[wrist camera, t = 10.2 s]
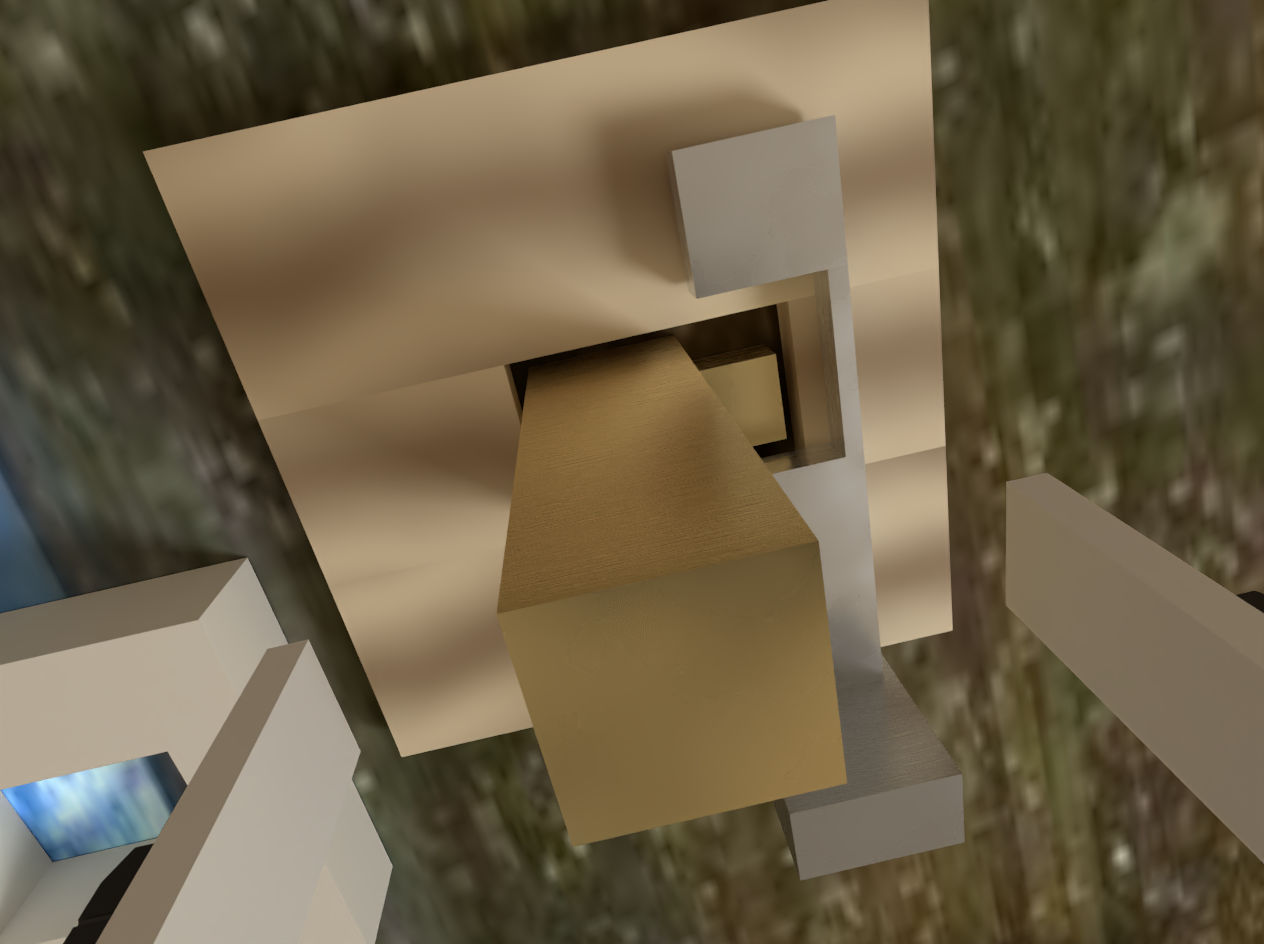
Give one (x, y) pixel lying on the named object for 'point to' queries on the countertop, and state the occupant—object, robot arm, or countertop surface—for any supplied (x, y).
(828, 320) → the steel key
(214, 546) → the countertop surface
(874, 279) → the socket plate
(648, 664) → the brass peg
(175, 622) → the block
